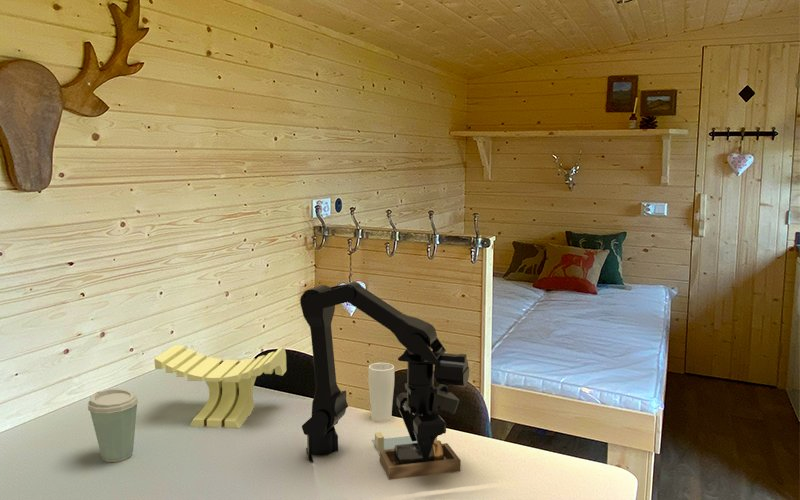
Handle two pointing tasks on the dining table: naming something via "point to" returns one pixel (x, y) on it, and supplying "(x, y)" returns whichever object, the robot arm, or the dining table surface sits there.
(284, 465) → the dining table surface
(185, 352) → the slatted curved stool
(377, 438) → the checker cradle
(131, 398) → the disposable coffee cup
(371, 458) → the dining table surface
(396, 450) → the battery cell
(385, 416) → the drinking glass
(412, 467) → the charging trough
